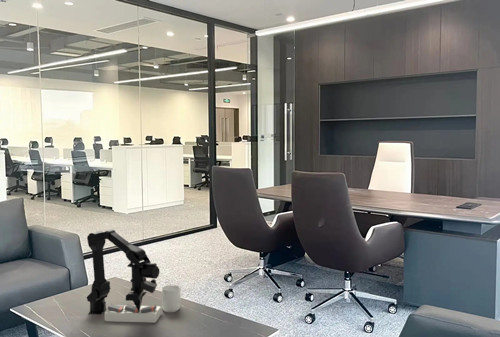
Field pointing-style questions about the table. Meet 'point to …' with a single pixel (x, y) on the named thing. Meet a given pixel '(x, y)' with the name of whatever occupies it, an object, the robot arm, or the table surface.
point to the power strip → (133, 315)
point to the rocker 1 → (115, 308)
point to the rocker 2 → (131, 308)
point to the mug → (171, 298)
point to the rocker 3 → (148, 309)
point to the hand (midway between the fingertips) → (138, 309)
